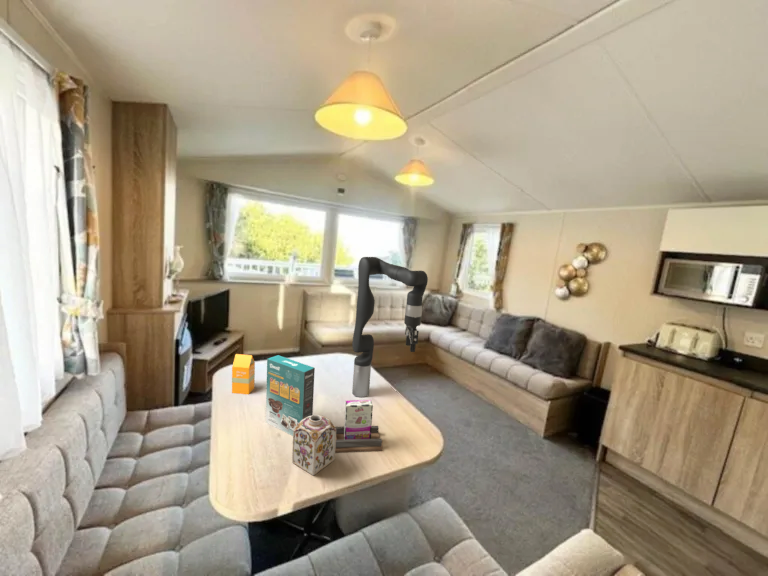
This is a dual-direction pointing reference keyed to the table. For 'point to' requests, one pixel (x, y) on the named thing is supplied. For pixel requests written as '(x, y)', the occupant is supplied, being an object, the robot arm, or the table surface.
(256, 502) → the table surface
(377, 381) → the table surface
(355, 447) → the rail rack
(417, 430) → the table surface
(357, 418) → the candy bar box
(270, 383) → the cake mix box
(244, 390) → the orange juice
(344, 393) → the table surface
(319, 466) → the decorative jar
